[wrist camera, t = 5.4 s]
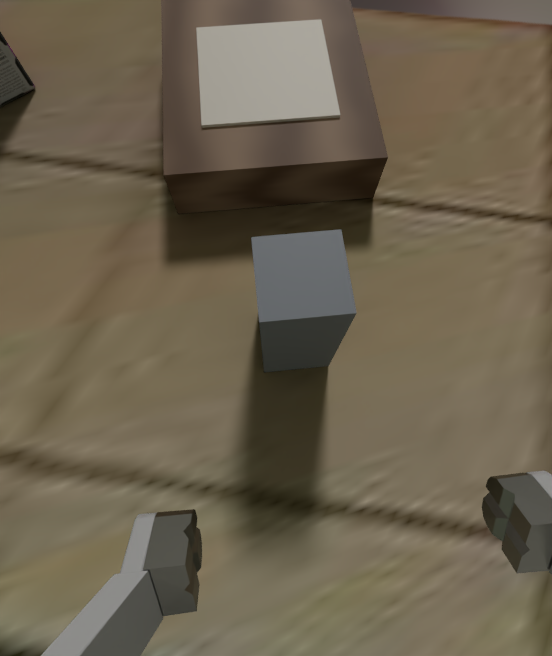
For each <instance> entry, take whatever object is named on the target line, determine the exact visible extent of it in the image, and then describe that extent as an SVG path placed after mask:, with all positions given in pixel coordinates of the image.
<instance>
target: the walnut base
mask: <svg viewBox="0 0 552 656" xmlns="http://www.w3.org/2000/svg"><path fill="white" fill-rule="evenodd" d="M161 9H162V84H163V159H164V177H165V180H166V183H167V185H168V188H169V191H170V193H171V196H172V199H173V201H174V204H175V207H176V209H177V212H178V214H184V213H196V212H208V211H220V210H232V209H244V208H256V207H268V206H279V205H291V204H303V203H315V202H327V201H339V200H351V199H363V198H373V197H374V194H375V191H376V188H377V186H378V183H379V180H380V177H381V175H382V172H383V169H384V167H385V164H386V161H387V158H388V156H387V152H386V147H385V143H384V139H383V135H382V131H381V127H380V122H379V118H378V114H377V110H376V106H375V102H374V97H373V93H372V89H371V85H370V81H369V77H368V72H367V68H366V64H365V60H364V56H363V52H362V47H361V43H360V39H359V35H358V31H357V27H356V22H355V18H354V14H353V10H352V6H351V2H350V0H161Z"/></svg>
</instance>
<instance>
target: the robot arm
mask: <svg viewBox="0 0 552 656" xmlns="http://www.w3.org/2000/svg"><path fill="white" fill-rule="evenodd" d="M486 488H487V489H488V491H489V493H488V494H487V495H486V496H485V497H484V498H483V503H482V511H483V517H484V520H485V522H486V525H487V527H488V528H489V530H490V532H491V533H492V534H493V535H494V536H496V537H497V538H499V539H500V540H502V551H503V552H504V554H505V556H506V557H507V559H508V560H509V562H510V563H511V565H512V567H513V568H514V570H515V571H516V573H526V572H537V571H549V570H550V571H549V573H550V574H552V475H551V474H550V473H548V472H546V471H536V472H527V473H516V474H508V475H500V476H492V477H490V478H489V479H488V480H487V484H486ZM196 526H197V515H196V511H195V510H194V509H193V510H181V511H168V512H157V513H147V514H138V516H137V517H136V519H135V521H134V525H133V528H132V532H131V535H130V539H129V542H128V546H127V550H126V553H125V557H124V560H123V564H122V567H121V571H120V574H114V575H113V576H112V577H111V578H110V579H109V580H108V582H107V583H106V584H105V585H104V586H103V587H102V588H101V589H100V590H99V592H98V593H97V594H96V595H95V596H94V597H93V598H92V599H91V600H90V602H89V603H88V604H87V605H86V606H85V607H84V608H83V609H82V610H81V612H80V613H79V614H78V615H77V616H76V617H75V618H74V619H73V621H72V622H71V623H70V624H69V625H68V626H67V627H66V628H65V629H64V631H63V632H62V633H61V634H60V635H59V636H58V637H57V638H56V639H55V641H54V642H53V643H52V644H51V645H50V646H49V647H48V648H47V649H46V651H45V652H44V653H43V654H42V655H41V656H140V655H141V654H142V652H143V650H144V649H145V647H146V646H147V644H148V642H149V641H150V639H151V638H152V636H153V634H154V633H155V631H156V630H157V628H158V626H159V625H160V623H161V621H162V620H163V616H168V615H174V614H181V613H188V612H194V611H197V604H198V594H199V580H198V576H197V572H198V571H199V570H200V568H201V562H202V540H201V533H200V529H198V528H197V527H196Z"/></svg>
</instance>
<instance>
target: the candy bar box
mask: <svg viewBox="0 0 552 656" xmlns="http://www.w3.org/2000/svg"><path fill="white" fill-rule="evenodd" d="M33 89H35V86H34V84H33V82H32V81H31V79H30V78H29V76H28V75H27V73H26V72H25V70H24V68H23V67H22V65H21V64H20V62H19V61H18V59H17V57H16V56H15V54H14V53H13V51H12V49H11V48H10V46H9V45H8V43H7V42H6V40H5V38H4V37H3V35H2V34H1V32H0V108H1V107H2V106H4V105H6V104H7V103H9V102H11V101H13V100H14V99H16V98H18V97H20V96H22V95H24V94H26V93H28V92H30V91H31V90H33Z"/></svg>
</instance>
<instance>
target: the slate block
mask: <svg viewBox="0 0 552 656" xmlns="http://www.w3.org/2000/svg"><path fill="white" fill-rule="evenodd" d="M251 240H252V251H253V262H254V272H255V283H256V293H257V304H258V314H259V325H260V335H261V345H262V355H263V365H264V372H273V371H283V370H293V369H303V368H313V367H323V366H329V364H330V362H331V360H332V358H333V356H334V355H335V353H336V351H337V349H338V347H339V345H340V343H341V341H342V339H343V338H344V336H345V334H346V332H347V330H348V328H349V326H350V324H351V323H352V321H353V319H354V317H355V315H356V308H355V302H354V297H353V291H352V286H351V280H350V275H349V269H348V263H347V258H346V252H345V247H344V241H343V236H342V230H341V229H339V230H328V231H316V232H304V233H293V234H281V235H270V236H258V237H251Z"/></svg>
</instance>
